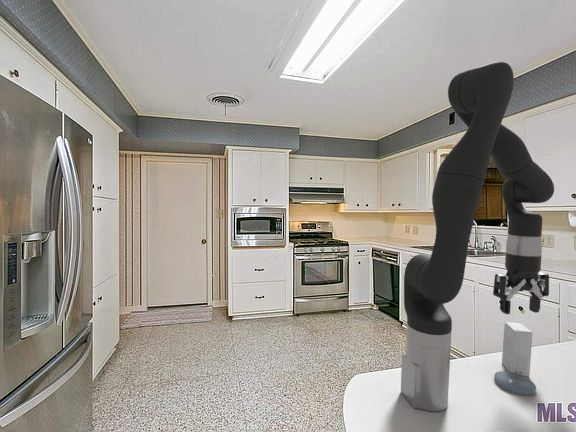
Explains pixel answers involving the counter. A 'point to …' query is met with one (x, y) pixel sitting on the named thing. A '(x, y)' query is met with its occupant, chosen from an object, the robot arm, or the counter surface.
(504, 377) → the slate dish
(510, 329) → the skincare box
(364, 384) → the counter surface
